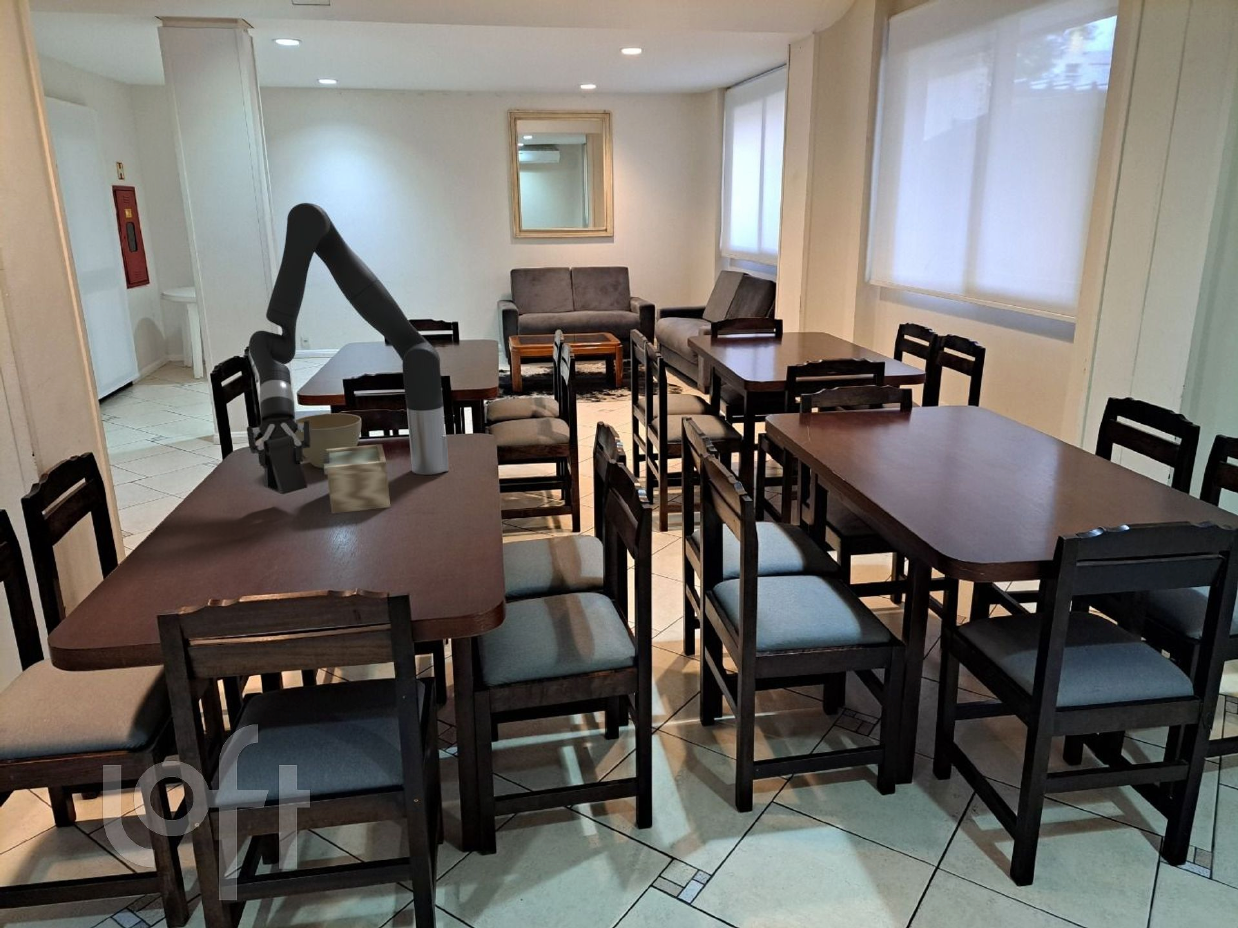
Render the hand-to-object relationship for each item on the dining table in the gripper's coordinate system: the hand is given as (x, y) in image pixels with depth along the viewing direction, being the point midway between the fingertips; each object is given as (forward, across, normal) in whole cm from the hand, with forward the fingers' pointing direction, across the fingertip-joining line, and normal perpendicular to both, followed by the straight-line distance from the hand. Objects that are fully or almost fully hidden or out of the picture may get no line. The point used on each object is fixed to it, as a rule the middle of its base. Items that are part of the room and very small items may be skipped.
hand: (281, 464), depth 195 cm
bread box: (+7, +16, +9) cm, 20 cm away
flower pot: (-16, +9, +32) cm, 37 cm away
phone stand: (+3, 0, +6) cm, 6 cm away
